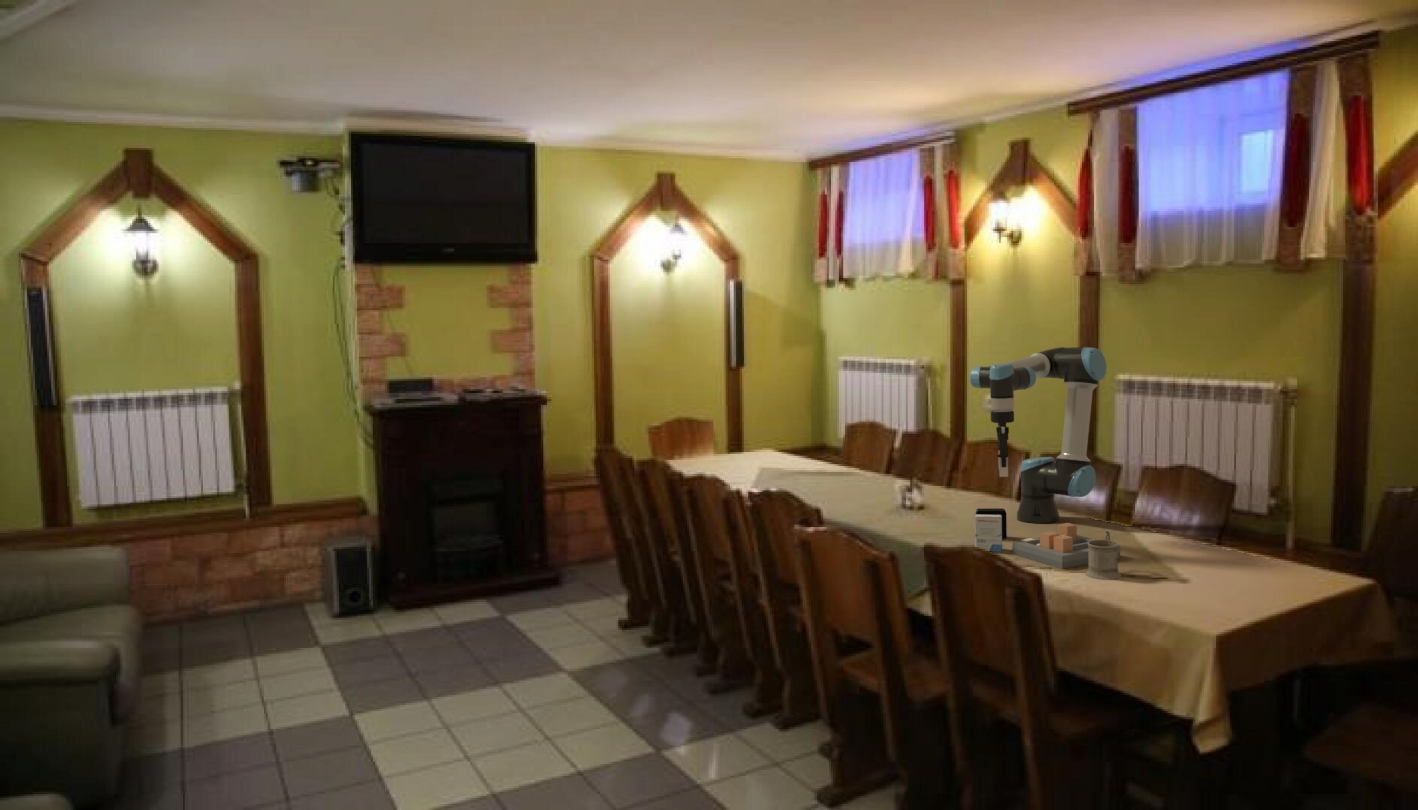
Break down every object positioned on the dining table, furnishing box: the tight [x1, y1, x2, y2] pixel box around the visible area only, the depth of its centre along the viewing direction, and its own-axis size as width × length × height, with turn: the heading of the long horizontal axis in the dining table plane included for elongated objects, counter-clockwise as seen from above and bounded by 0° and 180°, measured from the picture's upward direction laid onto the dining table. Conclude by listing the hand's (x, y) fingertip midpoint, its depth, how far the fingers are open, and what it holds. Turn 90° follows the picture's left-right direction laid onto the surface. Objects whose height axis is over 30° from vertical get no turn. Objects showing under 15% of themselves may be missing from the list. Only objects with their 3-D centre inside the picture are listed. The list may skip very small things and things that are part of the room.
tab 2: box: [1057, 522, 1078, 539], centre depth 325 cm, size 4×4×6 cm
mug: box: [1085, 529, 1122, 581], centre depth 296 cm, size 14×10×12 cm
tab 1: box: [1039, 531, 1059, 549], centre depth 314 cm, size 4×4×6 cm
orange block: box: [1054, 535, 1073, 553], centre depth 309 cm, size 4×4×6 cm
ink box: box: [974, 513, 1003, 553], centre depth 328 cm, size 9×5×12 cm, turn 71°
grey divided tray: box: [1011, 534, 1121, 570], centre depth 317 cm, size 24×22×4 cm
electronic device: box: [975, 507, 1008, 540], centre depth 345 cm, size 4×10×10 cm, turn 78°
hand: (1003, 473), depth 332 cm, fingers open, 13 cm apart
